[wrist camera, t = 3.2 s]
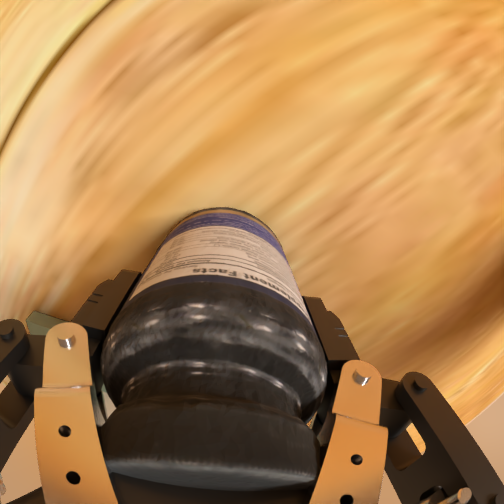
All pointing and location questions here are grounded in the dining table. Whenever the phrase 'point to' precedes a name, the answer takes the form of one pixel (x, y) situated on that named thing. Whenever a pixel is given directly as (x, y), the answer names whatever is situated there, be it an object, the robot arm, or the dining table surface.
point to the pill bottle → (215, 364)
